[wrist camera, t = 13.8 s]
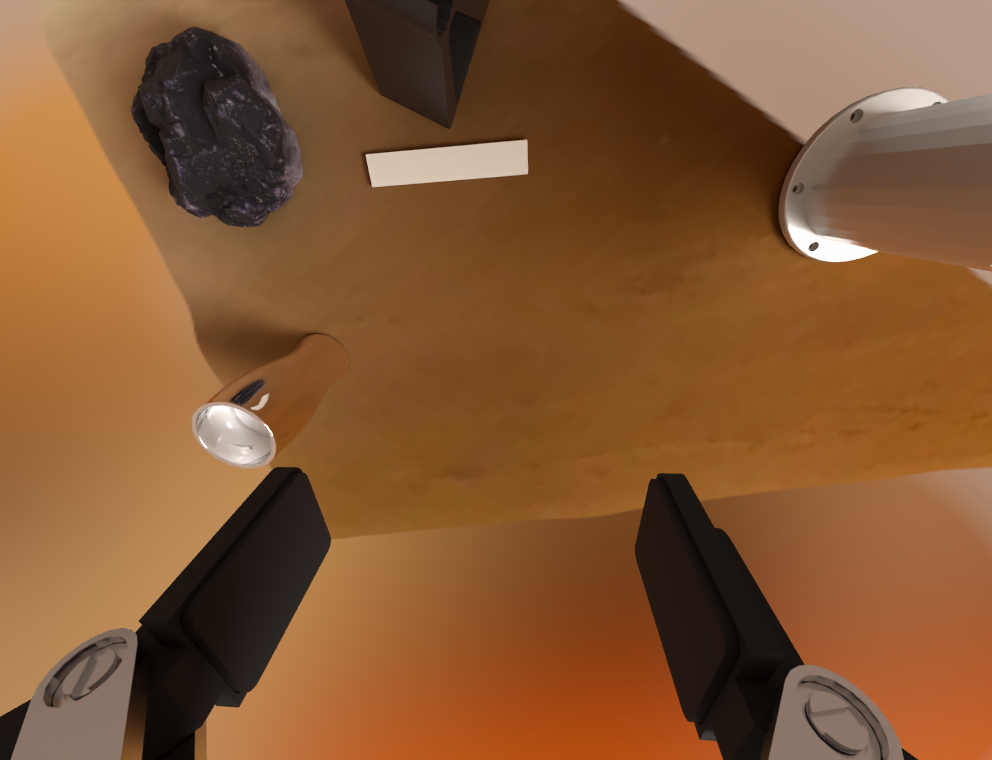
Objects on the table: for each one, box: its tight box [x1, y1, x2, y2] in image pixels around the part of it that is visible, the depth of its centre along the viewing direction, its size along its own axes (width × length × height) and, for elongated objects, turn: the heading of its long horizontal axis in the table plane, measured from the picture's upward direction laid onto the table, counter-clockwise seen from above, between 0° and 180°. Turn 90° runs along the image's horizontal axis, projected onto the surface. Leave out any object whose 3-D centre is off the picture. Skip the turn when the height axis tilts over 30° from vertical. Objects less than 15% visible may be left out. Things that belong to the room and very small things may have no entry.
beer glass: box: [191, 334, 350, 469], centre depth 35 cm, size 7×7×15 cm
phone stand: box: [345, 0, 489, 129], centre depth 23 cm, size 9×6×12 cm, turn 156°
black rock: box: [131, 27, 303, 227], centre depth 28 cm, size 13×14×10 cm
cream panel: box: [365, 140, 528, 187], centre depth 31 cm, size 14×2×1 cm, turn 94°
